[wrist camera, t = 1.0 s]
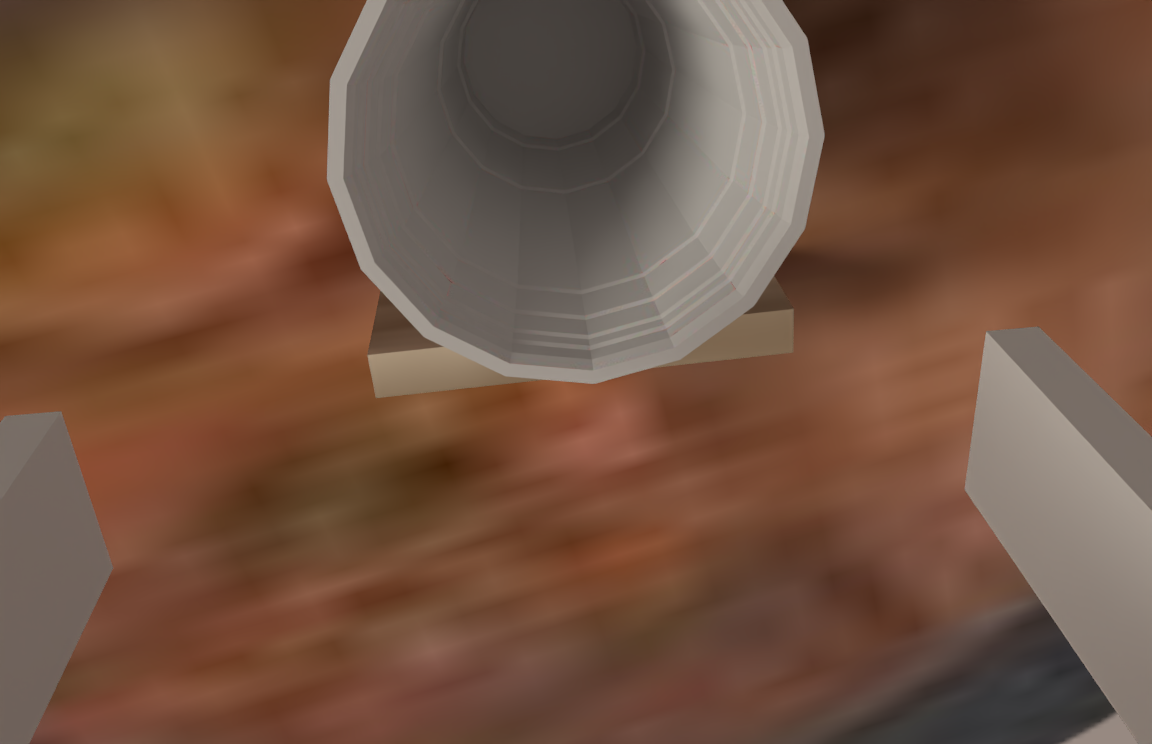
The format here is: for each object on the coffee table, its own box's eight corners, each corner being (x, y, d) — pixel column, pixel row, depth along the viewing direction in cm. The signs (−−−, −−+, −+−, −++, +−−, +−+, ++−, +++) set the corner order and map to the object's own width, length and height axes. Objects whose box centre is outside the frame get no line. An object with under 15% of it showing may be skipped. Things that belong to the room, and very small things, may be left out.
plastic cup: (722, -163, 31) (842, -136, 21) (723, 195, 36) (819, 362, 26) (344, -133, 31) (273, -90, 20) (399, 224, 36) (365, 405, 26)
